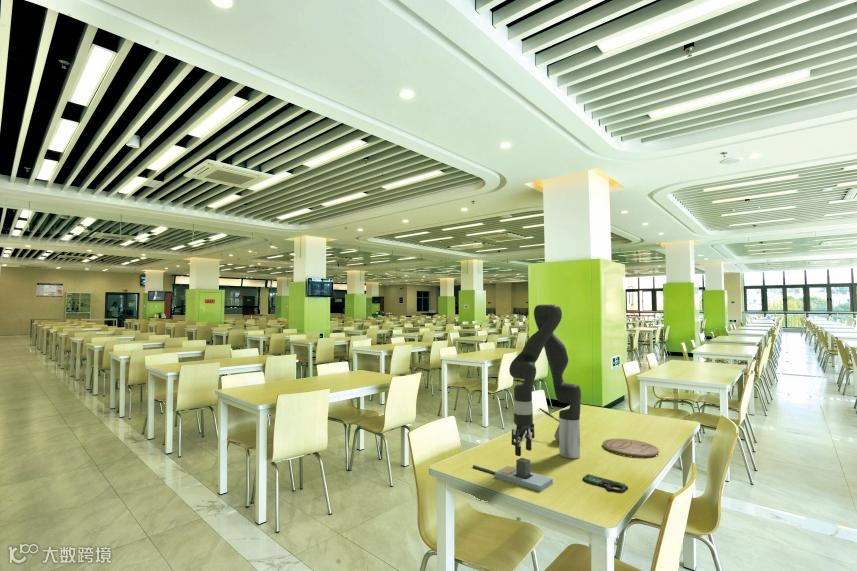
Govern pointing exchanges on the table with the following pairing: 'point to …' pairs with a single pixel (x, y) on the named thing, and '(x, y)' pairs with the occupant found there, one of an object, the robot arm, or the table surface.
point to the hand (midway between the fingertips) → (523, 452)
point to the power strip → (509, 475)
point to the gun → (605, 483)
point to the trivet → (630, 448)
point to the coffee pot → (558, 425)
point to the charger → (523, 468)
